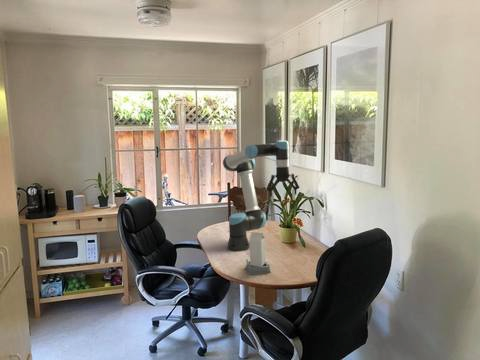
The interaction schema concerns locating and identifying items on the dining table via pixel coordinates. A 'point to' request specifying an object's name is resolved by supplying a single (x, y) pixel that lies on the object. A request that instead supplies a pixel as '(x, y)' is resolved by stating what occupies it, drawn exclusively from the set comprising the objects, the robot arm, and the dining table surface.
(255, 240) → the milk carton
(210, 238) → the dining table surface
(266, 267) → the seat block
